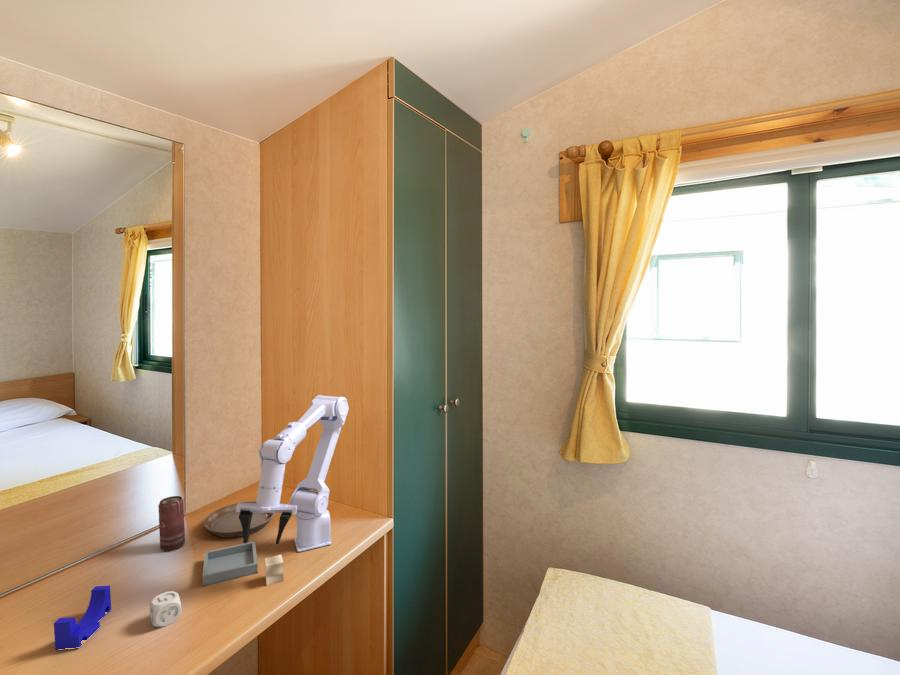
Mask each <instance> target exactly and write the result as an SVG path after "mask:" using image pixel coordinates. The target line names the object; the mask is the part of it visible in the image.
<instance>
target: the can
mask: <svg viewBox="0 0 900 675" xmlns="http://www.w3.org/2000/svg"><path fill="white" fill-rule="evenodd" d="M184 504H185V503H184V499H183V498H182V496H180V495H173V496H172V495H171V496H168V497H164V498H163V499H161V500H160V501H159V503H158V525H159V526H158V528H159V529H158V530H159V548H160V550H161V551H163V552H172V551H176V550H179V549H181V548H182V547H184V544H185V543H186V536H185V534H186V533H185V510H184V508H185V506H184Z"/></svg>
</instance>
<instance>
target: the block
mask: <svg viewBox="0 0 900 675" xmlns="http://www.w3.org/2000/svg"><path fill="white" fill-rule="evenodd" d="M264 570H265V571H264V572H265V573H264V574H265V584H266V586H271V585H274V584H278V583H281V582H284V579H285V578H284V560H283V556H282V554H278V555H274V556H273V555H272V556H270V557H265V558H264Z"/></svg>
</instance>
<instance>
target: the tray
mask: <svg viewBox="0 0 900 675" xmlns="http://www.w3.org/2000/svg"><path fill="white" fill-rule="evenodd" d="M202 566H203V567H202V568H203V569H202V576H201V577H202V578H201V580H202V582H201V583H202V587H206V586H210V585H214V584H217V583H223V582H227V581H231V580H234V579H240V578H241V577H242V578H243V577H247V576H251V575H255V574H258V571H259V570H258V556H257V549H256V541H254V540H253V541H250V542H249V541H248V542H247V543H244V542H243V543H239V544H236V545H232V546H226V547H221V548H217V549H212V550H208V551H204V557H203V565H202Z"/></svg>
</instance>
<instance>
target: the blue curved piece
mask: <svg viewBox="0 0 900 675" xmlns="http://www.w3.org/2000/svg"><path fill="white" fill-rule="evenodd" d="M90 592H91V593H90V599H89V604H88V606H87V609H86V611H85V613H84V615H83V616H82V618H81V619H80V620H79V621H78V622H77V621H76V620H77V619H76V617H75V616H72V617H71V616H70V617H59V618H58V619H57V620H56V621H55V622H54V623H53V631H54V632H53V634H54V650H58V649H65V648H76V647H80V646H81V645H82V644H81V641H82V640H87V639H88V638H89V637H90V636H91V635H92V634H93V633H94V632H95V631H96V630H97V629H98V628H99V627H100V628H101V623H100V622H101V620H102V619H103V618H105V617H106V616H107V614H105V612H108V613H110V612H111V611H112V600H111V597H112V596H111V585H109V584H107V585H96V586H94V587H93V588H92V589H91V591H90ZM102 617H103V618H102ZM101 618H102V619H101ZM100 619H101V620H100ZM99 620H100V621H99ZM98 621H99V622H98ZM100 628H99V629H100ZM99 629H98V630H99ZM98 630H97V631H98ZM97 631H96V632H97ZM96 632H95V633H96ZM58 651H59V650H58Z"/></svg>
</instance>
